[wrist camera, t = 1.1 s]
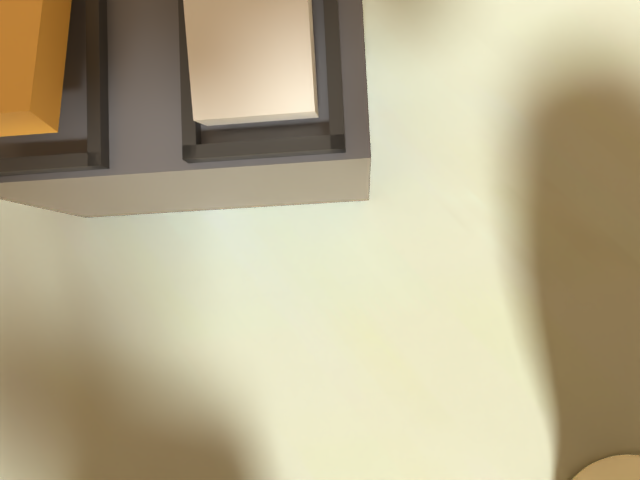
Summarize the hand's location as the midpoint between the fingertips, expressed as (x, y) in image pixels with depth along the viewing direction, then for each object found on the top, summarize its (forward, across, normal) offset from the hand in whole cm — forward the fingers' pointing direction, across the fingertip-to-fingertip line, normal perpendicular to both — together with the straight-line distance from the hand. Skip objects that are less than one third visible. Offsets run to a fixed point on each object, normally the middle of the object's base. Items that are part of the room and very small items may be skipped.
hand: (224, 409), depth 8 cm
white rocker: (+8, +3, -5) cm, 11 cm away
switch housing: (+16, +7, 0) cm, 18 cm away
